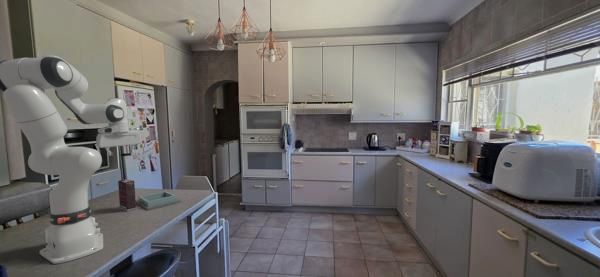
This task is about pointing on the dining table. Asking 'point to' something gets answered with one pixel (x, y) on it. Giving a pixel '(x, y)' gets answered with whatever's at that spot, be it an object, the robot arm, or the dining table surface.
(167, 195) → the tray
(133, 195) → the supplement box
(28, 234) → the dining table surface
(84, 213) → the robot arm
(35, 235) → the dining table surface
